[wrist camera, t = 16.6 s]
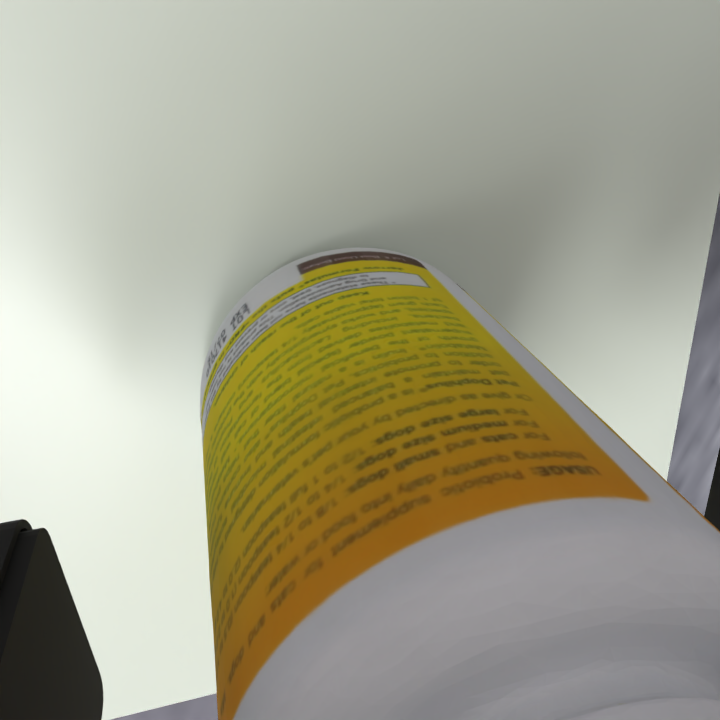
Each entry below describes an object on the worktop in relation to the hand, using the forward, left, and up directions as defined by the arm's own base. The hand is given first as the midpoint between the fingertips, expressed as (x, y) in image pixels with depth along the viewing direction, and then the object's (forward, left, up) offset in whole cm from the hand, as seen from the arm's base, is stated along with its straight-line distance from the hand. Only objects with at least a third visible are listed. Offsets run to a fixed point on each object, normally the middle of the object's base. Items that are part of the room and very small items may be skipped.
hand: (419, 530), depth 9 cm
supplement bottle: (0, 0, -5) cm, 5 cm away
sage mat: (0, 0, -5) cm, 5 cm away
